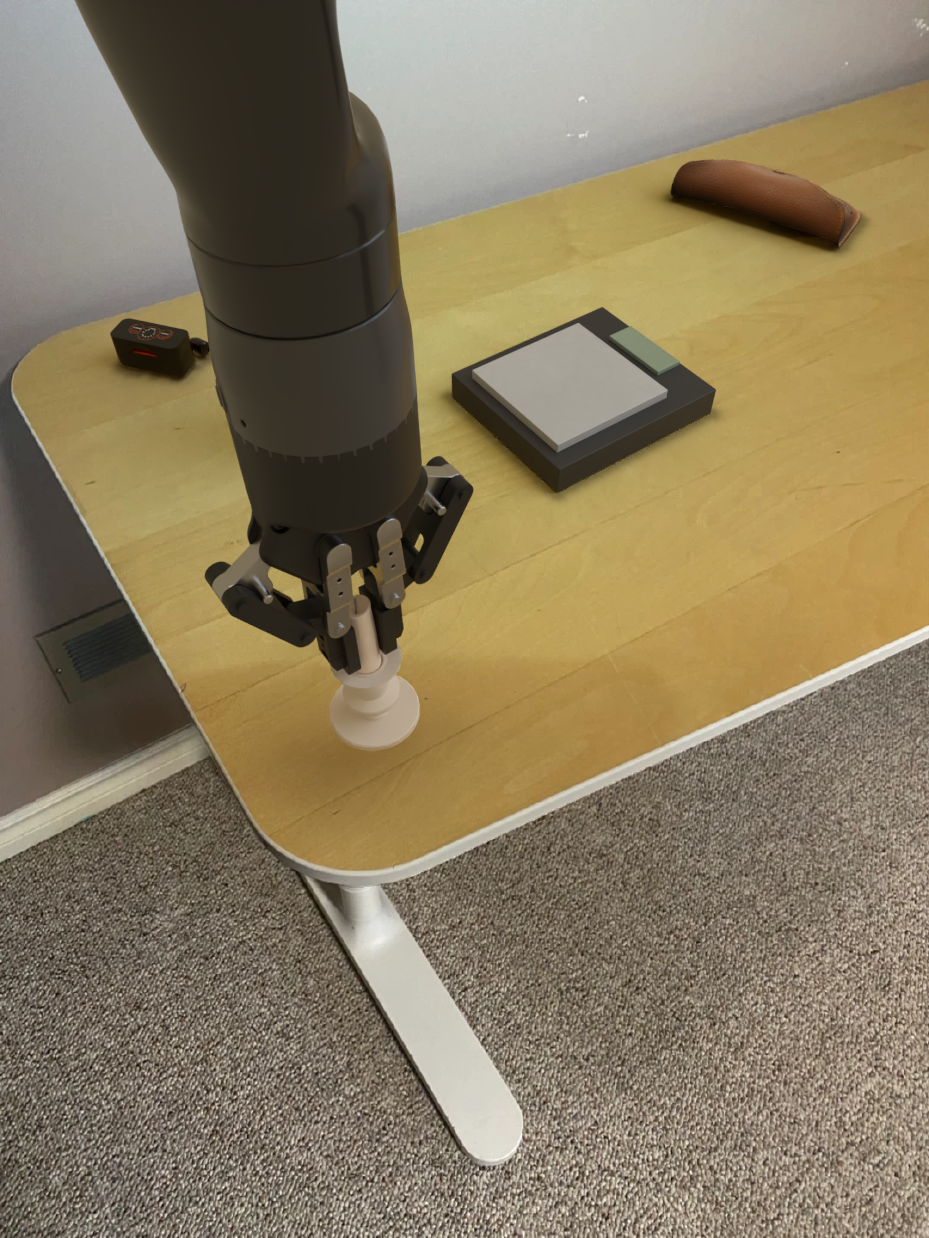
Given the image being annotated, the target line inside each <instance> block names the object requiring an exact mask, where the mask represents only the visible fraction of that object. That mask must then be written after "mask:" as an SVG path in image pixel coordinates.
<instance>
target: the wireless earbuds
mask: <svg viewBox="0 0 929 1238" xmlns="http://www.w3.org/2000/svg"><path fill="white" fill-rule="evenodd" d="M109 335H110V338H111V341H112V344H113V347H114V350H115V353H116V355H117V359H118V361H119V363H120V364H121V365H122V366H123V367H126V368H132V369H136V370H140V371H145V372H149V373H154V374H159V375H164V376H167V377H173V378H177V379H183V378H185V376H186V375H187V374H188V373H189V372H190V370H191V369H192V368H193V367H194V366H195V364H196V360H197V359H196V355H195V354H197V355H198V356H200V357H201V358H205V357H207V356H208V355H210V351H209V345H208V340H207V341H206V340H205V339H202V338H200V337H195V336H194V337H190V334H189V331H188V330H186V329H185V328H184V329H183V328H179V327H174V326H169V325H165V324H160V323H156V322H149V321H145V320H141V319H135V318H132V317H131V318H130V317H129V318H123V319H122V320H120V321H119V322H118V323H117V325H116V326H115V327H114V328H112V330H111V331H110V332H109Z"/></svg>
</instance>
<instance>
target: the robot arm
mask: <svg viewBox="0 0 929 1238" xmlns="http://www.w3.org/2000/svg"><path fill="white" fill-rule="evenodd" d="M74 2H75V4H76V5H75V6H76V7H77V9H78V12H79V13H80V16H81V18H82V20H83V21H84V24H85V26H86V28H87V30H88V32H89V34H90V36H91V38H92V40H93V42H94V43H95V46H96V47H97V49H98V51H99V53H100V55H101V57H102V59H103V61H104V63H105V66H107V69H108V71H109V72H110V74H111V76H112V78H113V80H114V82H115V84H116V85H117V88H118V90H119V92H120V93H121V96H122V98H123V99H124V101H125V103H126V105H127V107H128V109H129V111H130V112H131V114H132V116H133V118H134V121H135V122H136V124H137V126H138V128H139V130H140V132H141V134H142V136H143V138H144V139H145V142H146V143H147V145H148V146H149V148H150V149H151V151H152V153H153V155H154V156H155V158H156V159H157V161H158V163H159V164H160V165H161V167H162V168H163V170H164V172H165V174H166V176H167V177H168V179H169V181H170V183H171V184H172V187H173V188H174V192H175V196H176V199H177V204H178V210H179V215H180V220H181V224H182V227H183V232H184V236H185V240H186V243H187V247H188V250H189V255H190V258H191V261H192V266H193V270H194V273H195V277H196V281H197V285H198V289H199V292H200V296H201V299H202V305H203V310H204V315H205V316H204V317H205V324H206V326H205V327H206V337H207V342H208V345H209V356H210V359H211V360H210V361H211V365H212V370H213V373H214V376H215V380H214V381H215V385H214V388H215V392H216V395H217V399H218V402H219V405H220V408H222V409H223V411H224V415H225V418H226V421H227V425H228V429H229V432H230V436H231V439H232V442H233V447H234V450H235V453H236V457H237V458H236V459H237V461H238V465H239V470H240V472H241V476H242V480H243V483H244V487H245V491H246V494H247V498H248V501H249V505H250V507H251V516H250V520H249V523H248V525H247V531H246V537H247V541H248V544H249V545H248V547H247V548H245V550H244V551H243V552H242V553H241V554H240V555H239V556H238V557H237V558H236V559H235V561H234V562H233V563H232V564H230V563H228V562H226V561H222V560H221V561H216V562H214V563H212V564H210V565H209V566H208V567H207V569H206V570H205V571H204V579H205V581H206V582H207V584H208V585H209V588H211V590H212V591H213V592H214V594H215V595H216V596H217V598H218V599H219V601H220V603H221V604H222V605H223V607H224V608H225V610H226V611H227V612H228V614H229V615H230V616H231V617H232V618H235V619H237V620H239V621H241V622H244V623H245V624H248V625H250V626H252V627H253V628H256V629H259V630H260V631H262V632H265V633H267V634H269V635H271V636H273V637H275V638H278V639H279V640H282V641H284V642H286V643H288V644H289V645H292V646H294V647H296V648H299V649H300V648H305V647H308V646H309V645H311V644H312V643H313V642H314V641H315V640H316V643H317V646H318V650H319V652H320V653H321V655H323V657H324V658H325V659H326V662H328V664H329V666H330V665H331V666H332V667H333V668H334V669H335V670H336V671H339V670H341V669H344V670H345V672H346V673H347V674H348V675H351V674H353V673H354V672H356V671H358V670H360V669H361V663H360V657H359V651H358V645H357V640H356V634H355V629H354V628H353V626H352V625H351V619H350V609H349V604H350V603H352V602H353V596H354V592H353V581H352V577H353V575H354V574H356V573H358V574H359V577H360V578H361V579H362V581H363V584H362V585H360V586H357V588H358V595H364V596H366V597H368V598H369V600H370V602H371V609H372V613H373V617H374V622H375V627H376V632H377V638H378V643H379V649H380V650H381V651H382V653H383V654H385V655H387V654H389V653H390V652H392V651H394V650H396V649H397V648H398V647H397V643H398V640H397V639H399V638H401V637H402V635H403V632H404V629H405V628H404V618H403V610H402V603H403V602H404V601H405V599H406V596H407V595H406V594H407V593H406V589H407V588H409V586H411V585H412V584H413V583H415V584H416V585H423V584H426V583H428V582H429V581H430V580H431V579H432V577H433V576H434V574H435V573H436V570H437V568H438V566H439V564H440V562H441V560H442V558H443V556H444V554H445V552H446V550H447V547H448V546H449V544H450V542H451V540H452V538H453V535H454V533H455V532H456V530H457V527H458V525H459V523H460V521H461V519H462V517H463V515H464V513H465V511H466V508H467V507H468V506H469V502H470V501H471V499H472V496H473V494H474V486H473V485H472V484H471V483H470V481H468V480H467V479H466V478H465V476H464V475H462V473H461V472H460V471H458V469H456V467H455V466H454V465H452V464H450V462H448V460H446V459H445V458H444V457H443V456H441V455H436V456H434V457H432V458H431V459H429V460H428V461H427V463H426V464H425V465H422V461H423V459H422V447H421V445H422V444H421V432H420V418H419V403H418V390H417V377H416V363H415V361H416V360H415V349H414V348H415V347H414V337H413V336H414V335H413V328H412V320H411V317H410V311H409V307H408V303H407V298H406V295H405V291H404V286H403V285H404V284H403V276H402V267H401V255H400V254H401V253H400V242H399V241H400V240H399V230H398V215H397V214H398V213H397V205H396V191H395V190H396V189H395V183H394V173H393V167H392V162H391V156H390V151H389V147H388V143H387V139H386V136H385V134H384V131H383V128H382V126H381V124H380V121H379V119H378V117H377V116H376V114H375V113H374V112H373V111H372V110H371V108H370V106H368V104H367V103H366V102H364V101H363V100H362V99H361V98H359V97H358V96H357V95H356V94H355V93H353V92H351V91H350V90H349V86H348V80H347V79H348V78H347V75H346V69H345V64H344V60H343V53H342V47H341V46H342V45H341V41H340V32H339V31H340V30H339V24H338V23H339V22H338V21H339V20H338V9H337V7H338V4H337V3H338V2H337V0H74ZM420 535H421V536H422V539H423V541H422V545H421V547H420V549H419V550H418V548H416V544H417V541H418V539H419V537H420ZM271 568H274V569H276V570H278V571H280V572H282V573H285V574H287V575H290V576H292V577H294V578H296V579H299V580H300V581H301V586H302V594H303V598H302V599H298V600H293V598H292V597H291V596H289V595H287V594H286V593H284V592H282V591H280V590H278V589H276V588H274V583H273V581H272V580H271V578H270V577H269V571H270V569H271Z"/></svg>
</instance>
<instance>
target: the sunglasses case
mask: <svg viewBox="0 0 929 1238" xmlns="http://www.w3.org/2000/svg"><path fill="white" fill-rule="evenodd" d="M670 195H671V197H674V196H676V197H679V198H685V199H688V200H691V201H696V202H697V201H698V202H701V203H704V204H713V205H715V206H718V207H723V208H724V207H725V208H731V209H733V210H735V211H737V212H740V213H743V214H746V215H750V216H752V217H756V218H759V219H764V220H767V221H772V222H774V223H775V224H778V225H781V226H784V227H786V228H787V227H788V228H791V229H794V230H797V231H800V232H803V233H806V234H810V235H812V236H816V237H819V238H822V239H824V240H827V241H829V242H833V243H835V245H836V246H837V247H838V248H841V247H842V246H843V244H845V242H846V241H847V239H849V237H850V235H851V234H852V233H853V231H854V230H855V228H856V227H857V226H858V224H859V223H860V221H861V220H862V217H863V215H862V213H861V211H859V210H858V209H856V208H855V207H854V206H853V205H852V204H850V203H849V202H847V201H845V200H844V199H842V198H840V197H837V196H836V195H833V194H831V193H830V192H828V191H827V190H826V189H824V188H823V187H821V186H820V185H819V184H817V183H815V182H814V181H811V180H809V179H808V178H805V177H801V176H799V175H796V174H793V173H788V172H785V171H784V170H782V169H779V168H772V167H769V166H765V165H761V164H756V163H753V162H747V161H743V160H738V159H737V160H735V159H718V158H717V159H713V158H712V159H700V160H699V159H698V160H690V161H687V162H685V163H684V164H682V165H681V166H680V167H679V168H678V169H677V172H676V173H675V175H674V177H673V180H672V183H671V187H670Z"/></svg>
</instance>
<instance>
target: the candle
mask: <svg viewBox="0 0 929 1238" xmlns="http://www.w3.org/2000/svg"><path fill="white" fill-rule="evenodd" d="M349 609H350V619H351V625H352V626H353V628H354V629H355V634H356V640H357V645H358V651H359V657H360V663H361V669H360V670H358V671H356V672H354V673H353V674H351V675H348V674H347V673H346V672H345V670H344V669H341V670H339V671H336V670H335V669H334V668H333V667H332V666H331V665H330V664H329V666H330V671H331V672H332V675H333V676H334V678H335V679H336V680H338V682H339V683H340V684H341V685H340V686H339V687H338V688H337V690H336V691H335V692H334V693H333V696H332V698H331V700H330V702H329V710H328V715H329V721H330V725H331V728H332V730H333V732H334V733H335V735H336V736H337V737H338V738H339V739H340V740H341V741H342V742H343V743H344V744H346V745H348V746H349V747H351V748H353V749H357V750H361V751H364V752H379V751H383V750H387V749H391V748H393V747H395V746H397V745H399V744H401V743H402V742H404V741H405V740H406V739H407V738H408V737H409V736H411V734H412V733H413V731H415V728H416V727H417V725H418V722H419V719H420V713H421V704H420V700H419V695H418V693H417V692H416V690H415V689H414V687H413V685H412V684H411V683H410V682H408V681H407V680H406V678H403V677H401V676H400V675H397V673H398V672H399V670H400V668H401V665H402V660H403V654H402V650H401V647H400V645H399V643H398V642H397V647H398V648H397V649H396V650H394V651H392V652H390V653H389V654H387V655H385V654H383V653H382V651H381V650H380V649H379V643H378V638H377V632H376V627H375V622H374V617H373V613H372V609H371V602H370V600H369V598H368V597H366V596H364V595H359V594H353V602H352V603H350V604H349Z"/></svg>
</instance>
